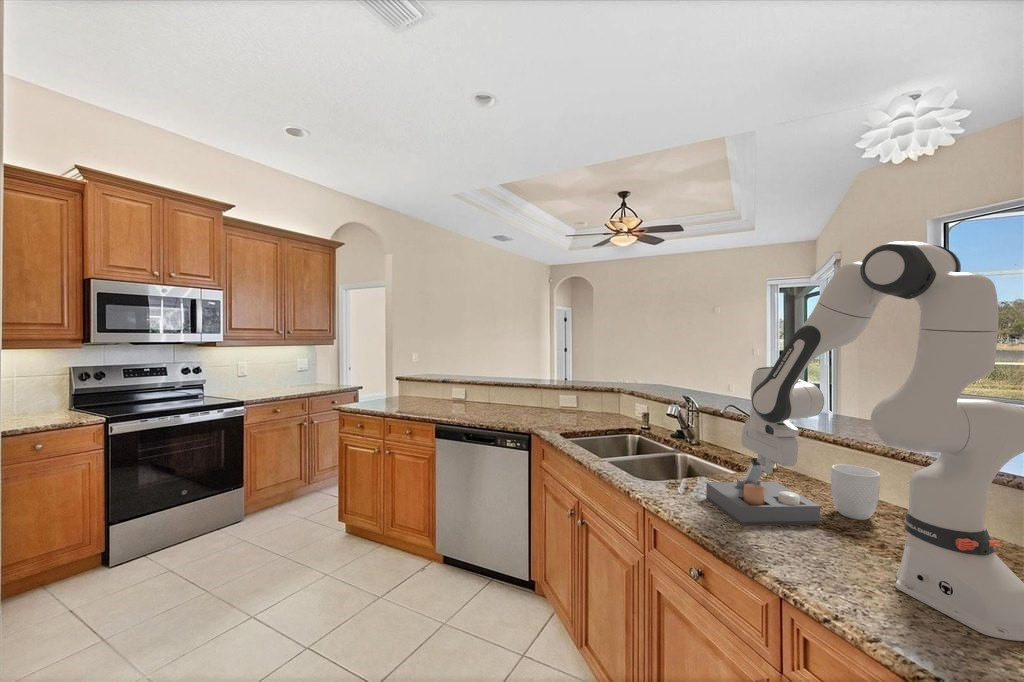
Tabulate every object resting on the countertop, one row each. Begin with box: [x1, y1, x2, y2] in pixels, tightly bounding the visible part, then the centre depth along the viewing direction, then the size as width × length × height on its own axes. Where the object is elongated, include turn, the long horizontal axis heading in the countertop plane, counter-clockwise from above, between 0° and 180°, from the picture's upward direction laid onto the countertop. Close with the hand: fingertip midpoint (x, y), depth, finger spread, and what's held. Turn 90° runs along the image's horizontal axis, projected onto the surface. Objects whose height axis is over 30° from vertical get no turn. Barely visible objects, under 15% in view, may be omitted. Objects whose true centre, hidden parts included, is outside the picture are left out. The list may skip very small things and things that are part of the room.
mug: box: [830, 463, 881, 521], centre depth 128 cm, size 15×11×13 cm
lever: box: [742, 457, 763, 486], centre depth 132 cm, size 2×4×11 cm
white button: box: [778, 491, 800, 505], centre depth 124 cm, size 5×5×5 cm
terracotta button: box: [744, 484, 765, 505], centre depth 124 cm, size 5×5×5 cm
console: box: [705, 478, 821, 526], centre depth 130 cm, size 19×22×7 cm
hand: (766, 472), depth 126 cm, fingers closed
